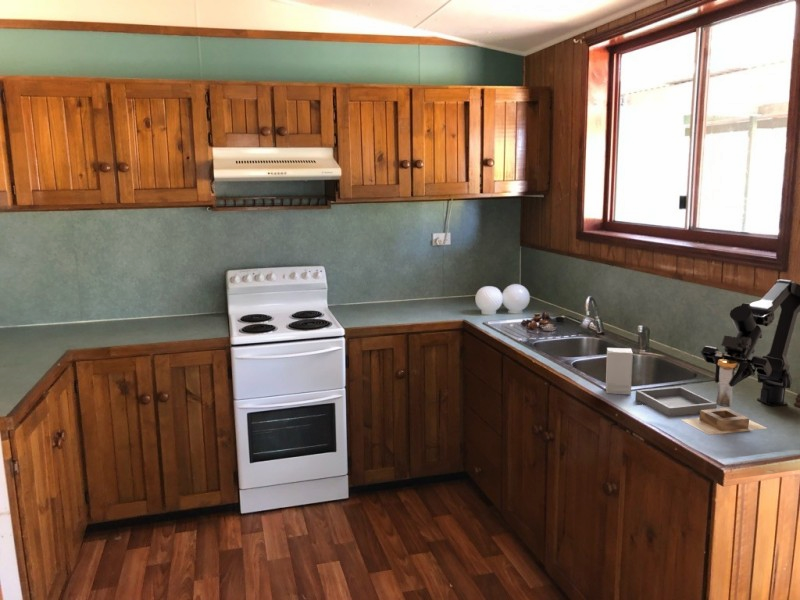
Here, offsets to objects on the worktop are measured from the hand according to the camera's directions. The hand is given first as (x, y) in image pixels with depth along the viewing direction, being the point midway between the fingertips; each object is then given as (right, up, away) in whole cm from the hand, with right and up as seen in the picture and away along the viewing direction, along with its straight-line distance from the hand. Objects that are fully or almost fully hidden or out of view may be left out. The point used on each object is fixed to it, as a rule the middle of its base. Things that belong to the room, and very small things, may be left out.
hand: (723, 383), depth 194 cm
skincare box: (-20, -7, +34) cm, 40 cm away
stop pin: (+1, -6, +2) cm, 7 cm away
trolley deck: (+1, -13, +3) cm, 14 cm away
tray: (-6, -10, +19) cm, 23 cm away
